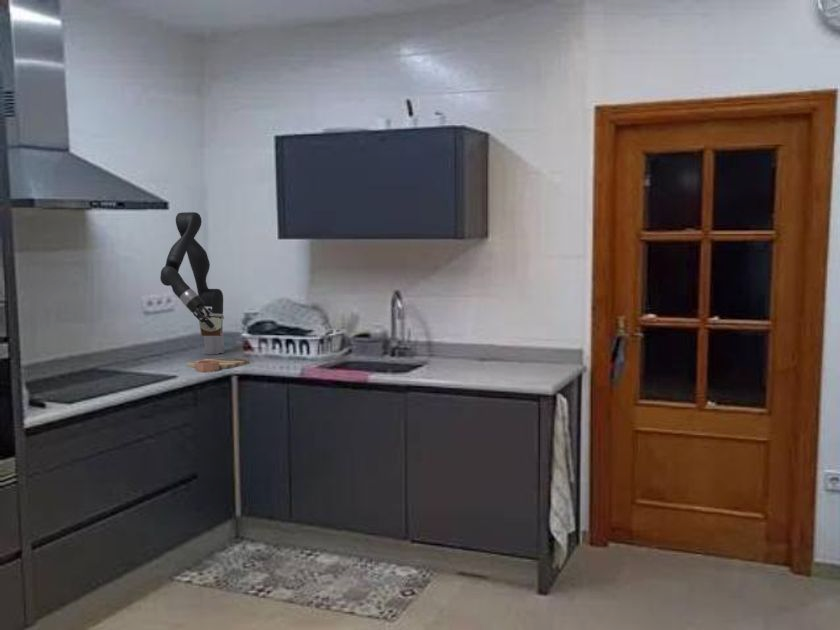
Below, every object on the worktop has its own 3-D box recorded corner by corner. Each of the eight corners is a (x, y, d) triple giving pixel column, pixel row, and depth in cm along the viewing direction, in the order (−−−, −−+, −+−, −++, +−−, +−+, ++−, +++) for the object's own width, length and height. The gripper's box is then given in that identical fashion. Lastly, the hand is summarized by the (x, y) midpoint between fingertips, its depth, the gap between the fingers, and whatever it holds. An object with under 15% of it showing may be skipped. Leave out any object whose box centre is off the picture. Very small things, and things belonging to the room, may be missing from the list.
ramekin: (205, 368, 372) (204, 359, 372) (223, 369, 368) (223, 360, 368) (191, 371, 363) (190, 363, 363) (209, 373, 359) (209, 364, 359)
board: (210, 361, 394) (210, 357, 394) (249, 363, 386) (249, 359, 385) (186, 366, 377) (186, 362, 377) (226, 368, 369) (226, 364, 369)
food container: (228, 334, 383) (227, 313, 383) (224, 336, 377) (223, 314, 376) (203, 334, 385) (202, 313, 384) (198, 336, 379) (197, 314, 378)
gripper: (189, 296, 374) (214, 322, 372) (204, 294, 388) (228, 319, 386) (179, 307, 376) (203, 333, 374) (194, 305, 390) (218, 330, 388)
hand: (216, 326), depth 380 cm, fingers closed on food container, 6 cm apart
